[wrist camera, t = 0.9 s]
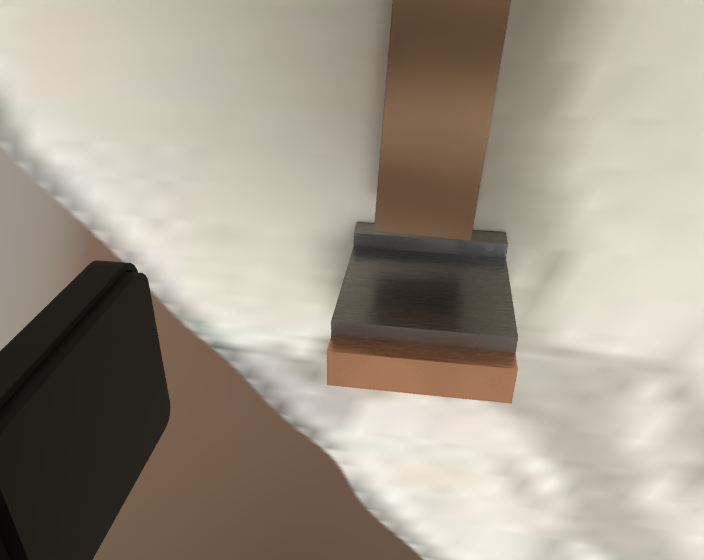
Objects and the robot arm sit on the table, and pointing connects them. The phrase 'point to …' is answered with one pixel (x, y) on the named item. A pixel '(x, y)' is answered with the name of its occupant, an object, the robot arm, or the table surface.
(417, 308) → the ridge stand
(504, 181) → the table surface
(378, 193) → the walnut rod
